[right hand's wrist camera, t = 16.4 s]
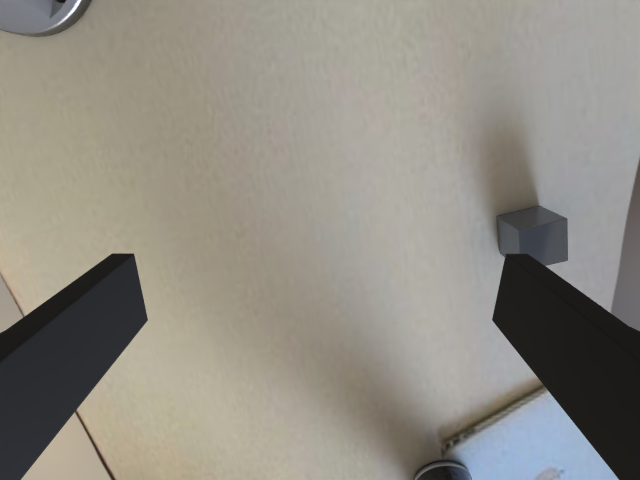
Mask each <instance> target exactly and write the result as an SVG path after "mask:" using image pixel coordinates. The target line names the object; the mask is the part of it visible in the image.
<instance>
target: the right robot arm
mask: <svg viewBox="0 0 640 480" xmlns="http://www.w3.org/2000/svg"><path fill="white" fill-rule="evenodd" d="M90 2H91V0H0V30H3V31H6V32H11V33H15V34H19V35H24V36H33V37H41V36H49V35H53V34H56V33H59V32H61V31H64V30H66V29H67V28H69V27H70V26H72V25H73V24H74V23H75V22H77V21H78V20H79V18H80V17H81V16H82V15H83V14H84V12H85V11H86V9H87V8H88V6H89V4H90ZM147 320H148V319H147V314H146V309H145V304H144V300H143V295H142V290H141V285H140V280H139V276H138V271H137V266H136V261H135V256H134V254H111V255H110V256H108V257H107V258H106V259H104V260H103V261H101V262H100V263H99V264H97V265H96V266H94V267H93V268H92V269H90V270H89V271H87V272H86V273H85V274H83V275H82V276H81V277H79V278H78V279H76V280H75V281H74V282H72V283H71V284H69V285H68V286H67V287H65V288H64V289H62V290H61V291H60V292H58V293H57V294H56V295H54V296H53V297H51V298H50V299H49V300H47V301H46V302H44V303H43V304H42V305H40V306H39V307H37V308H36V309H35V310H33V311H32V312H31V313H29V314H28V315H26V316H25V317H24V318H22V319H21V320H19V321H18V322H17V323H15V324H14V325H12V326H11V327H10V328H8V329H7V330H6V331H4V332H1V333H0V480H21V479H22V477H23V476H24V475H25V474H26V472H27V471H28V470H29V469H30V467H31V466H32V465H33V464H34V462H35V461H36V460H37V458H38V457H39V456H40V455H41V453H42V452H43V451H44V450H45V448H46V447H47V446H48V445H49V443H50V442H51V441H52V440H53V438H54V437H55V436H56V435H57V433H58V432H59V431H60V430H61V428H62V427H63V426H64V425H65V423H66V422H67V421H68V420H69V418H70V417H71V416H72V415H73V413H74V412H75V411H76V410H77V408H78V407H79V406H80V405H81V403H82V402H83V401H84V400H85V398H86V397H87V396H88V395H89V393H90V392H91V391H92V389H93V388H94V387H95V386H96V384H97V383H98V382H99V381H100V379H101V378H102V377H103V376H104V374H105V373H106V372H107V371H108V369H109V368H110V367H111V366H112V364H113V363H114V362H115V361H116V359H117V358H118V357H119V356H120V354H121V353H122V352H123V351H124V349H125V348H126V347H127V346H128V344H129V343H130V342H131V341H132V339H133V338H134V337H135V336H136V334H137V333H138V332H139V331H140V329H141V328H142V327H143V326H144V324H145V323H146V322H147ZM492 320H493V322H494V323H495V324H496V326H497V327H498V328H499V329H500V331H501V332H502V333H503V334H504V336H505V337H506V338H507V339H508V341H509V342H510V343H511V344H512V346H513V347H514V348H515V349H516V351H517V352H518V353H519V354H520V356H521V357H522V358H523V359H524V361H525V362H526V363H527V364H528V366H529V367H530V368H531V369H532V371H533V372H534V373H535V374H536V376H537V377H538V378H539V379H540V381H541V382H542V383H543V384H544V386H545V387H546V388H547V389H548V391H549V392H550V393H551V395H552V396H553V397H554V398H555V400H556V401H557V402H558V403H559V405H560V406H561V407H562V408H563V410H564V411H565V412H566V413H567V415H568V416H569V417H570V418H571V420H572V421H573V422H574V423H575V425H576V426H577V427H578V428H579V430H580V431H581V432H582V433H583V435H584V436H585V437H586V438H587V440H588V441H589V442H590V443H591V445H592V446H593V447H594V448H595V450H596V451H597V452H598V453H599V455H600V456H601V457H602V459H603V460H604V461H605V462H606V464H607V465H608V466H609V467H610V469H611V470H612V471H613V472H614V474H615V475H616V476H617V477H618V479H619V480H640V331H638V330H636V329H633V328H631V327H629V326H627V325H626V324H625V323H623V322H622V321H620V320H619V319H618V318H616V317H615V316H614V315H612V314H611V313H609V312H608V311H607V310H605V309H604V308H603V307H601V306H600V305H598V304H597V303H596V302H594V301H593V300H591V299H590V298H589V297H587V296H586V295H584V294H583V293H582V292H580V291H579V290H578V289H576V288H575V287H573V286H572V285H571V284H569V283H568V282H566V281H565V280H564V279H562V278H561V277H559V276H558V275H557V274H555V273H554V272H553V271H551V270H550V269H548V268H547V267H546V266H544V265H543V264H541V263H540V262H539V261H537V260H536V259H534V258H533V257H532V256H530V255H529V254H506V256H505V261H504V266H503V271H502V276H501V280H500V285H499V290H498V295H497V300H496V304H495V309H494V314H493V319H492Z"/></svg>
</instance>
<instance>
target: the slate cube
mask: <svg viewBox="0 0 640 480" xmlns="http://www.w3.org/2000/svg"><path fill="white" fill-rule="evenodd" d="M497 226H498V237H499V249H500V254H501V255H503V256H504V257H505V256H506V254H529V255H530V256H532V257H533V258H534V259H536V260H537V261H539V262H540V263H541V264H543V265H544V266H546V265H551V264H555V263H559V262H564V261H568V238H567V218H565V217H563V216H561V215H558V214H556V213H554V212H552V211H550V210H548V209H545V208H543V207H541V206H536V207H532V208H528V209H524V210H520V211H516V212H512V213H508V214H503V215H499V216H497Z"/></svg>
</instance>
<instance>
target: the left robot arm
mask: <svg viewBox="0 0 640 480" xmlns="http://www.w3.org/2000/svg"><path fill="white" fill-rule="evenodd" d="M414 480H472V478H471V476H470V473H469V471H468V470H467V469H466V468H465V467H464V466H462V465H461V464H458V463H455V462H449V461H441V462H435V463H432V464H429V465H427V466H425V467H423V468H422V469H421V470H420V471H419V472H418V473H417V474H416V475H415V477H414Z"/></svg>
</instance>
